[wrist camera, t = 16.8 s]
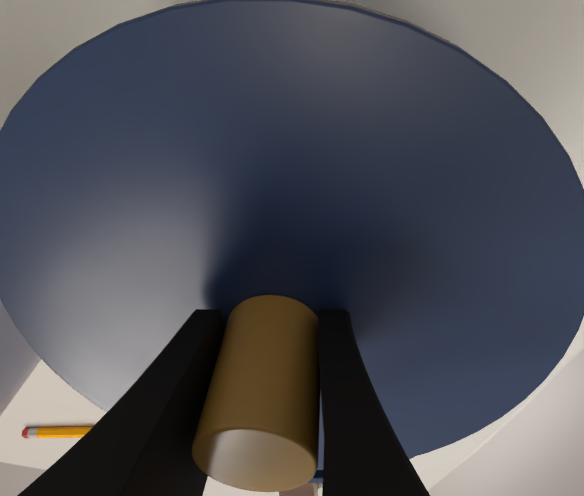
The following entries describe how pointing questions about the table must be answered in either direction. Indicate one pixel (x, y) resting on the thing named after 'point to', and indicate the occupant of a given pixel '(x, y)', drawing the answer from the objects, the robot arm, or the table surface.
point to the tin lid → (290, 223)
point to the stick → (302, 490)
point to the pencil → (55, 432)
